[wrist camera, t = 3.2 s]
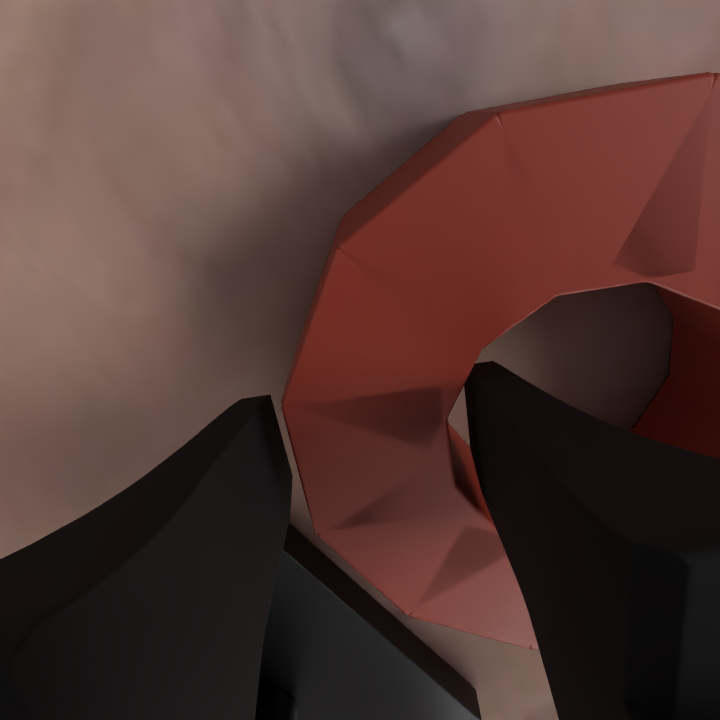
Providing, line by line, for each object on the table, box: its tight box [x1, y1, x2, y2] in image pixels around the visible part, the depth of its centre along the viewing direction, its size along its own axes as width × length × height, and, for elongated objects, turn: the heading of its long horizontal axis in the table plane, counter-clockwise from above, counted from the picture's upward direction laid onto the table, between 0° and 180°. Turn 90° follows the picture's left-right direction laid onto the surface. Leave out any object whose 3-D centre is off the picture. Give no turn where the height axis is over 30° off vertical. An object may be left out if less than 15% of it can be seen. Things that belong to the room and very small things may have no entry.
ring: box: [281, 72, 720, 649], centre depth 11 cm, size 11×11×3 cm
